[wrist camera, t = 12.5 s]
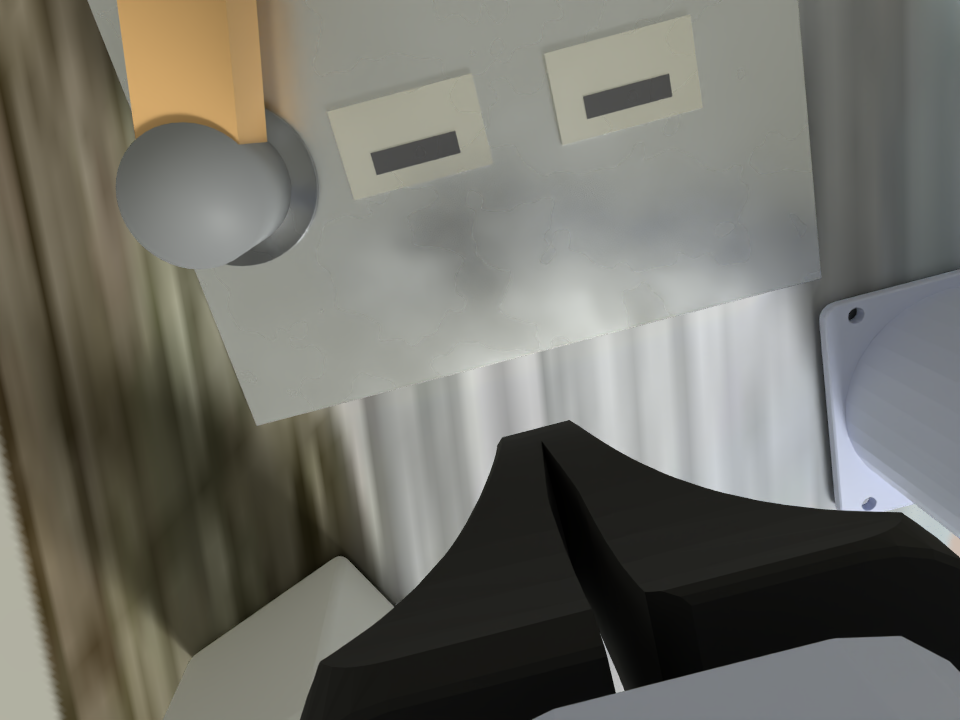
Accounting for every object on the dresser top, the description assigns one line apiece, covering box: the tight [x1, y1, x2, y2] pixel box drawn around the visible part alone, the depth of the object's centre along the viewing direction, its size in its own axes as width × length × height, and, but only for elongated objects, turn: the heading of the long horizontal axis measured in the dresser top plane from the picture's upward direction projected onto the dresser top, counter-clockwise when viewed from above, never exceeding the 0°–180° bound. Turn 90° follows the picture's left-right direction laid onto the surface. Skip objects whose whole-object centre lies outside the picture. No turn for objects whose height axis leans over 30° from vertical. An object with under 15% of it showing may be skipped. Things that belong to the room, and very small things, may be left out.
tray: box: [88, 0, 821, 426], centre depth 19 cm, size 18×14×1 cm
